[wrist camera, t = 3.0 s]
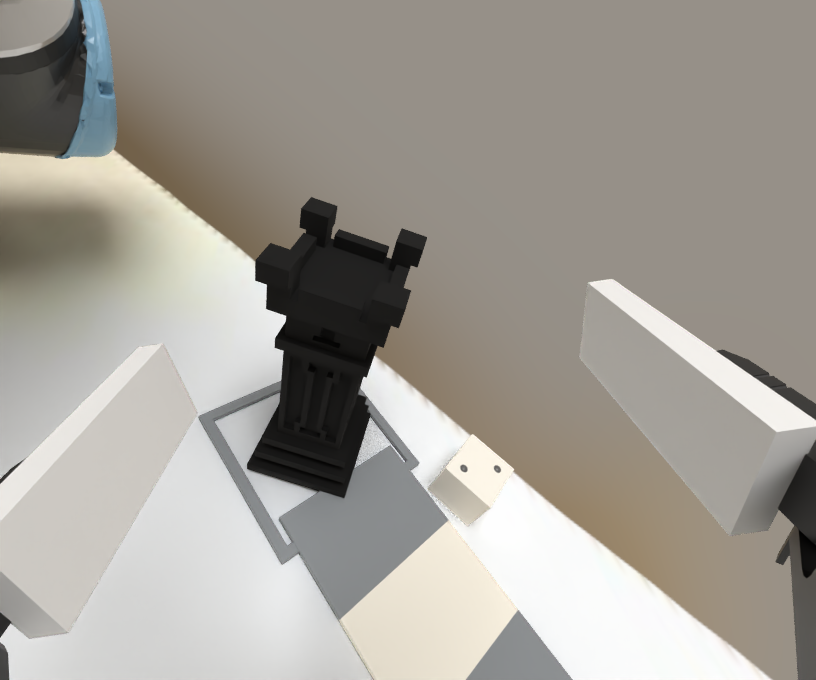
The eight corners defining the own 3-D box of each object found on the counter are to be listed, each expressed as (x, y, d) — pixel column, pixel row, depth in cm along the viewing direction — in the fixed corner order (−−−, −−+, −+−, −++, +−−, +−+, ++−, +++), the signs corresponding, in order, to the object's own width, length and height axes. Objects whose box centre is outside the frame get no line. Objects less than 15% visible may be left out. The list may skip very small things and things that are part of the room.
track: (279, 519, 30) (279, 517, 30) (388, 447, 37) (390, 445, 36) (508, 906, 21) (512, 909, 21) (597, 718, 28) (602, 718, 28)
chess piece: (287, 392, 37) (307, 192, 24) (369, 418, 38) (434, 236, 24) (247, 468, 32) (242, 261, 18) (344, 498, 32) (411, 318, 18)
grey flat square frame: (198, 418, 33) (198, 416, 33) (335, 359, 42) (335, 357, 41) (282, 564, 28) (282, 563, 28) (418, 464, 37) (419, 462, 36)
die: (427, 489, 35) (446, 467, 32) (453, 456, 38) (473, 433, 35) (467, 526, 34) (491, 507, 31) (490, 489, 37) (515, 468, 34)
